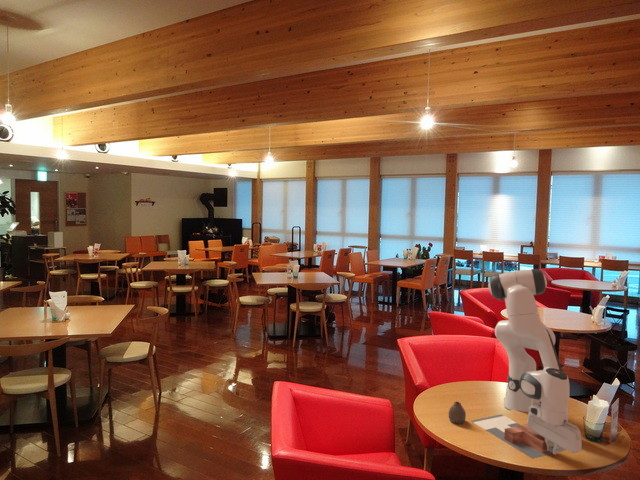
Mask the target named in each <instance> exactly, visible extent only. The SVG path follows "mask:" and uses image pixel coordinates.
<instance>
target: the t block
mask: <svg viewBox="0 0 640 480" xmlns="http://www.w3.org/2000/svg"><path fill="white" fill-rule="evenodd" d="M504 439H505V440H507V441H509V442H510V443H512V444H514V443H518V442H524V443H526V444H528V445H529V446H531V447H533V448H534V449H536V450H538V451H540V452H541V453H544V452H548V451H547V445H546V442H545V438H544V437H542V436H541V435H539V434H537V433H535V432H533V431H531V430H530V429H529V428H528V426H527V423H525V424H520V426H515V427H511V428H506V429H505V436H504Z"/></svg>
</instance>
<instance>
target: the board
mask: <svg viewBox="0 0 640 480" xmlns="http://www.w3.org/2000/svg"><path fill="white" fill-rule="evenodd" d="M471 423H473V424H475V425H476V426H478V427H480V428H481V429H483V430H485V431H486V432H488V433H489V434H491V435H493V436H494V437H496V438H497V439H500V440H501V441H502V442H504V443H506V444H508V445H510V446H511V447H512V448H514V449H516V450H517V451H519V452H521V453H523V454H524V455H526V456H527V457H529V458H531V459H537V458H539V457H544V456H547V455H551V454H553V453H551V452H549V451H548V452H544V453H541V452H540V451H538V450H536V449H534V448H533V447H531V446H529V445H528V444H526V443H524V442H518V443H514V444H512V443H510V442H509V441H507V440H505V439H504V436H505V429H506V428H511V427H515V426H520V425H521V424H520V423H518V422H516V421H514V420H512V419H510V418H509V417H507V416H505V415H503V414H497V415H493V416H487V417H486V416H485V417H481V418H478V419H473V420H471ZM551 443H552V446H553V447H555V446H554V443H553V442H552V441H551ZM562 451H567V450H566V449H564V448H563V447H561V446H560V448H559V449H558V453H559V452H562Z"/></svg>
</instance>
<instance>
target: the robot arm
mask: <svg viewBox="0 0 640 480" xmlns="http://www.w3.org/2000/svg"><path fill="white" fill-rule="evenodd" d="M547 285H548V282H547V277H546V275H545V274H544V273H543V271H542V270H540V269H535V268H533V269H520V270H515V271H508V272H507V271H506V272H504V273H497V274H493V275H491V276H490V277H489V281H488V285H487V287H488V291H489V294H491V296H492V297H493V299H496V300H499V301H501V302H504V303H505V308H506V314H507V316H508V317H507V319H508V320H507V319H505V320H503V319H502V320H499V321H498V322H497V323H496V326H495V327H494V335H495V337H496V339H497V340H498V341H499V342H500V343H501V345H502V346H503V348H504V349H505V351H506V354H507V356H508V374H507V384H506V391H505V396H504V397H503V406H504V407H505V409H507V410H509V411H512V410H513V411H516V412H521V413H528V414H527V419H526V420H527V421H526V422H527V423H526V424H527V426H528V428H529V429H530V430H531V431H533V432H535V433H537V434H539V435H541V436H542V437H544V438H545V442H546V445H547V451H549V452H551V453H552V454H553V455H558V453H559V452H558V449H559V448H560V447H562V448H564V449H566V450H565V451H568V452H570V453H571V454H572V453H573V454H576V453H580V452H581V451H582V450H583V449H582V447H583V446H582V444H583V442H582V432H581V430H580V428H579V427H578V425H576V424H573V423H572V422H570V421H569V405H568V404H569V400H570V380H569V379H570V378H569V376H568V374H567V373H566V372H564V369H563V367H562V368H561V365H562V364H561V362H560V360H559V357H558V353H557V352H556V348H555V344H556V335H555V333H554V331H553V330H552V329H551V328H550V327H548V326H547V325H546V324H544V322H542V320H541V317H540V313H539V309H538V305H537V302H536V299H535V296H539V295H542V294H544V293H545V292H546V290H547ZM503 300H504V301H503ZM526 349H529V350H534V351H538V352H539V356H540V359H541V362H542V366H543V369H539V370H537V362H536V361H535V359H534V358H533V357H532V356H531V355H530V354H528V353H527V351H526ZM560 364H561V365H560ZM562 369H563V370H562ZM551 442H553V443H554V446H555V447H553V446H552V443H551Z"/></svg>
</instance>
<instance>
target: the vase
mask: <svg viewBox="0 0 640 480" xmlns="http://www.w3.org/2000/svg"><path fill="white" fill-rule="evenodd" d="M448 419H449V420H448V421H450V423H452V424H455V425H462V424H464V423H465V421H466V419H467V414H466V410H465V408H464V407H463V406H462V404H461V402H460V401H454V403H453V404H452V405H451V406H450V407H449V409H448Z"/></svg>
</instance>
